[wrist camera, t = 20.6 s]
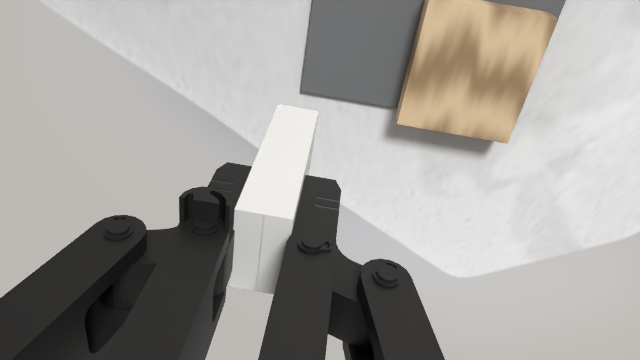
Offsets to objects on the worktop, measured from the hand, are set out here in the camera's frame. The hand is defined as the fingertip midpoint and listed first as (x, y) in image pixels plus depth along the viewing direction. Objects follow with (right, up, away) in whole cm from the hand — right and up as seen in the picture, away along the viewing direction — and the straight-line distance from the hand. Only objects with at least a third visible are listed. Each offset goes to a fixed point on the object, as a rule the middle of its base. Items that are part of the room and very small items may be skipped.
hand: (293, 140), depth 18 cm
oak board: (+9, +9, +23) cm, 26 cm away
